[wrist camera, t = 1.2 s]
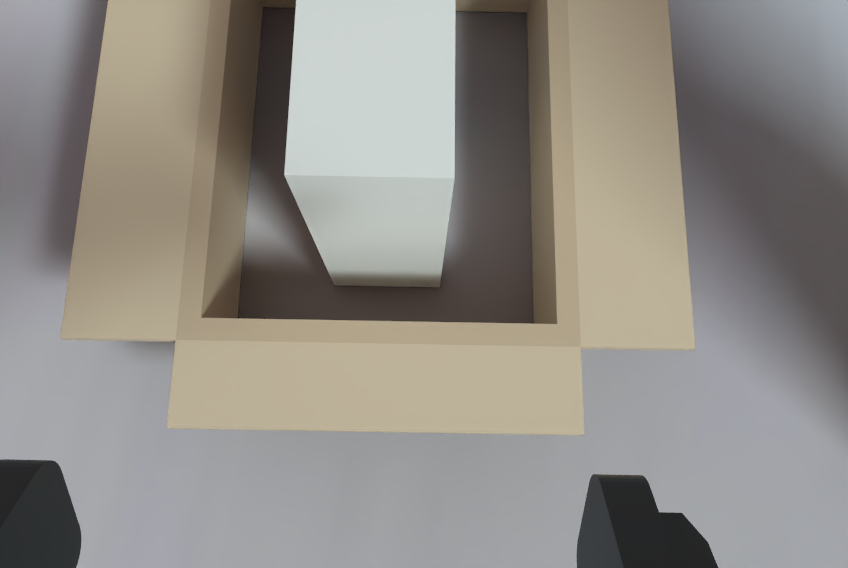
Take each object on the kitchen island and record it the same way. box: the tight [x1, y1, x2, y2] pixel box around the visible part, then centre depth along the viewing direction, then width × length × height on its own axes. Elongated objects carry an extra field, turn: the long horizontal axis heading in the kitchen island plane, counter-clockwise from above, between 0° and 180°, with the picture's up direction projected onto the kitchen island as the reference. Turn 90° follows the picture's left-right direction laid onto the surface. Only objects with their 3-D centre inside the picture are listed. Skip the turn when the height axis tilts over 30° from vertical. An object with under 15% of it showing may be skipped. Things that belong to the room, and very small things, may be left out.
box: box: [284, 0, 455, 287], centre depth 26 cm, size 4×11×12 cm, turn 179°
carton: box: [60, 0, 695, 435], centre depth 29 cm, size 22×24×5 cm
